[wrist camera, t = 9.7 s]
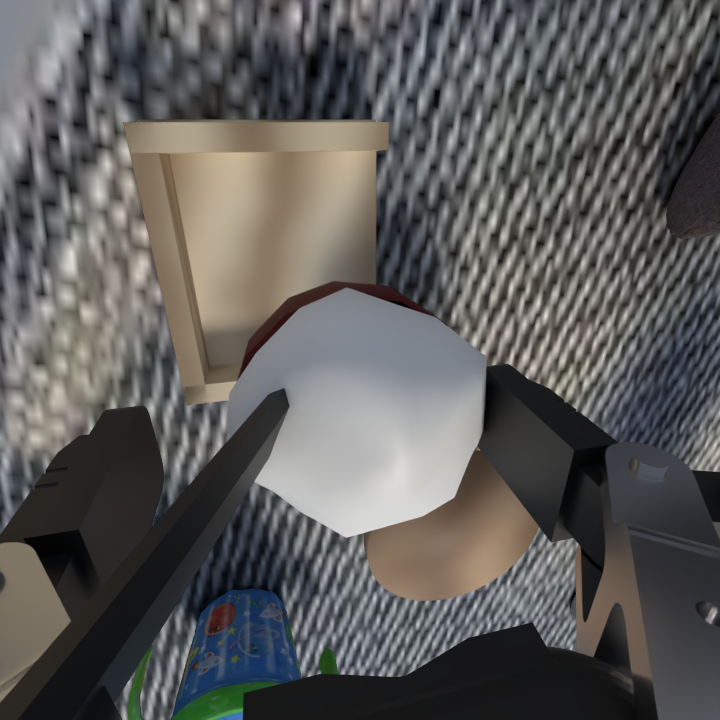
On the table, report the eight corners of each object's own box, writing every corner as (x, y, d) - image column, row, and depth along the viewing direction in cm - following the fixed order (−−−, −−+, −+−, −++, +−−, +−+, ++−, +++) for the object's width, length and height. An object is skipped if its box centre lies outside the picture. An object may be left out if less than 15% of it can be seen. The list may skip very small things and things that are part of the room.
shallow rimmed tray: (372, 120, 23) (388, 115, 20) (373, 363, 30) (385, 385, 27) (140, 121, 21) (121, 114, 18) (195, 383, 27) (188, 409, 25)
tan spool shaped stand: (464, 359, 31) (557, 449, 21) (453, 466, 35) (526, 580, 26) (331, 374, 29) (367, 480, 20) (337, 485, 34) (368, 616, 24)
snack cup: (346, 585, 39) (372, 712, 30) (298, 657, 42) (308, 792, 33) (175, 555, 33) (144, 701, 24) (133, 640, 36) (92, 798, 27)
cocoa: (469, 356, 16) (949, 755, 5) (356, 471, 16) (563, 1015, 6) (265, 159, 11) (685, 89, 1) (126, 331, 12) (-609, 1441, 2)
